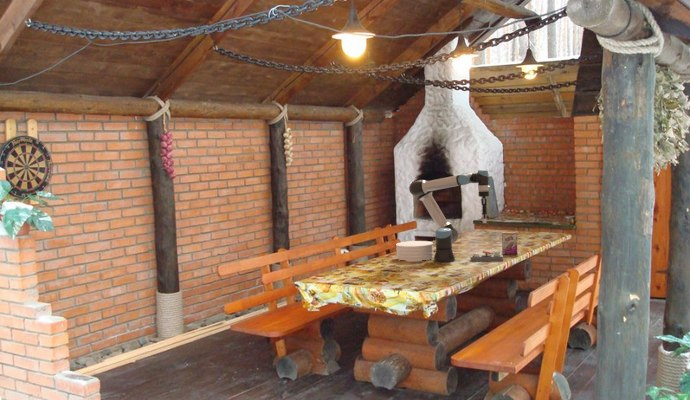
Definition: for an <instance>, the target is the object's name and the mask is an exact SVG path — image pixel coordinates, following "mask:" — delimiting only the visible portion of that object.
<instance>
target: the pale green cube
mask: <svg viewBox="0 0 690 400" xmlns="http://www.w3.org/2000/svg"><path fill="white" fill-rule="evenodd" d="M493 251H494V252H493V253H494V254H493V255H495V256H500V255H501V254H500V250H493Z"/></svg>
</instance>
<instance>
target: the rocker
mask: <svg viewBox="0 0 690 400" xmlns="http://www.w3.org/2000/svg"><path fill="white" fill-rule="evenodd" d="M482 253H483V254H488V255H492V254H491V253H492V252H491V251H490V250H489V251H488V250H482Z"/></svg>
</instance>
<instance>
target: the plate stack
mask: <svg viewBox="0 0 690 400" xmlns="http://www.w3.org/2000/svg"><path fill="white" fill-rule="evenodd" d="M395 245H396V246H395V247H396V248H395V249H396V260H397V259H400V260H406V261H405V262H423V261H422V260H426V261H430V259H431V260H434V256H435V253H434V242H433V241H428V240H407V241H402V242H397V243H396V244H395ZM400 260H399V261H400Z"/></svg>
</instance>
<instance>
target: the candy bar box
mask: <svg viewBox="0 0 690 400" xmlns="http://www.w3.org/2000/svg"><path fill="white" fill-rule="evenodd" d="M501 247H502V248H501V249H502V251H501V253H502V254H501V255H517V254H518V232H517V231H502V233H501Z"/></svg>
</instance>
